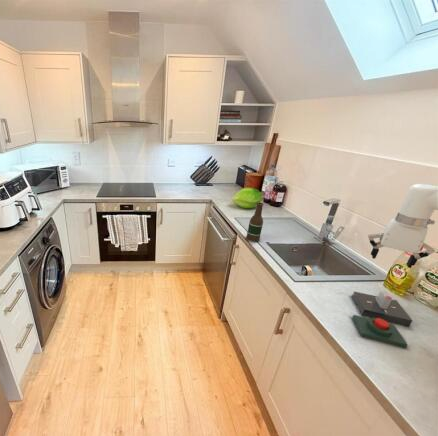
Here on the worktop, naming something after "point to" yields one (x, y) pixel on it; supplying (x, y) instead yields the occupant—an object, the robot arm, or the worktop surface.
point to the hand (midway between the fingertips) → (390, 261)
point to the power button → (381, 323)
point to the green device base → (378, 331)
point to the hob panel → (381, 309)
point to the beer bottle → (255, 225)
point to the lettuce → (247, 198)
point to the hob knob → (383, 299)
